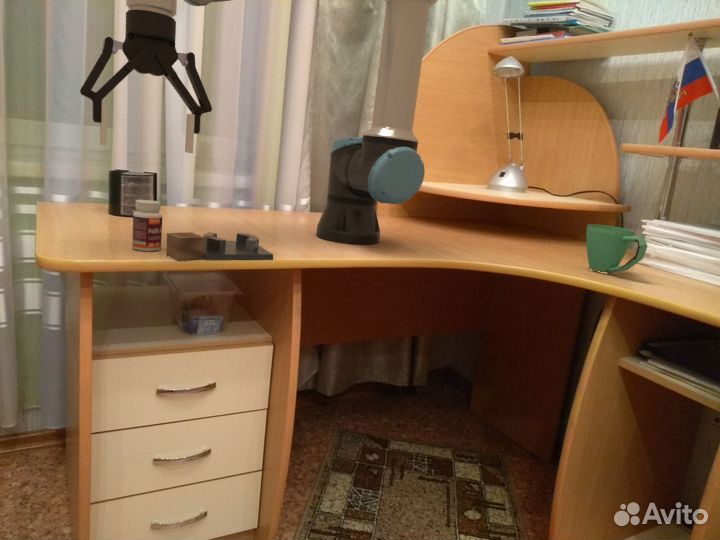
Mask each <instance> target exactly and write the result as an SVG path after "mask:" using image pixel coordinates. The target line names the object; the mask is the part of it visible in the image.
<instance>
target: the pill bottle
mask: <svg viewBox="0 0 720 540" xmlns="http://www.w3.org/2000/svg"><path fill="white" fill-rule="evenodd" d="M161 203H162V202H160V201H158V200H153V199H152V200H151V199H150V200H149V199H138V200H135V210H134V212H133V214H132V249H134V250H136V251H139V252H140V251H141V252H156V251H157V250H158V251H161V249H162V237H163V236H162V235H163V233H162V231H163V214H162V213H161V212H160V211H161Z"/></svg>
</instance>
